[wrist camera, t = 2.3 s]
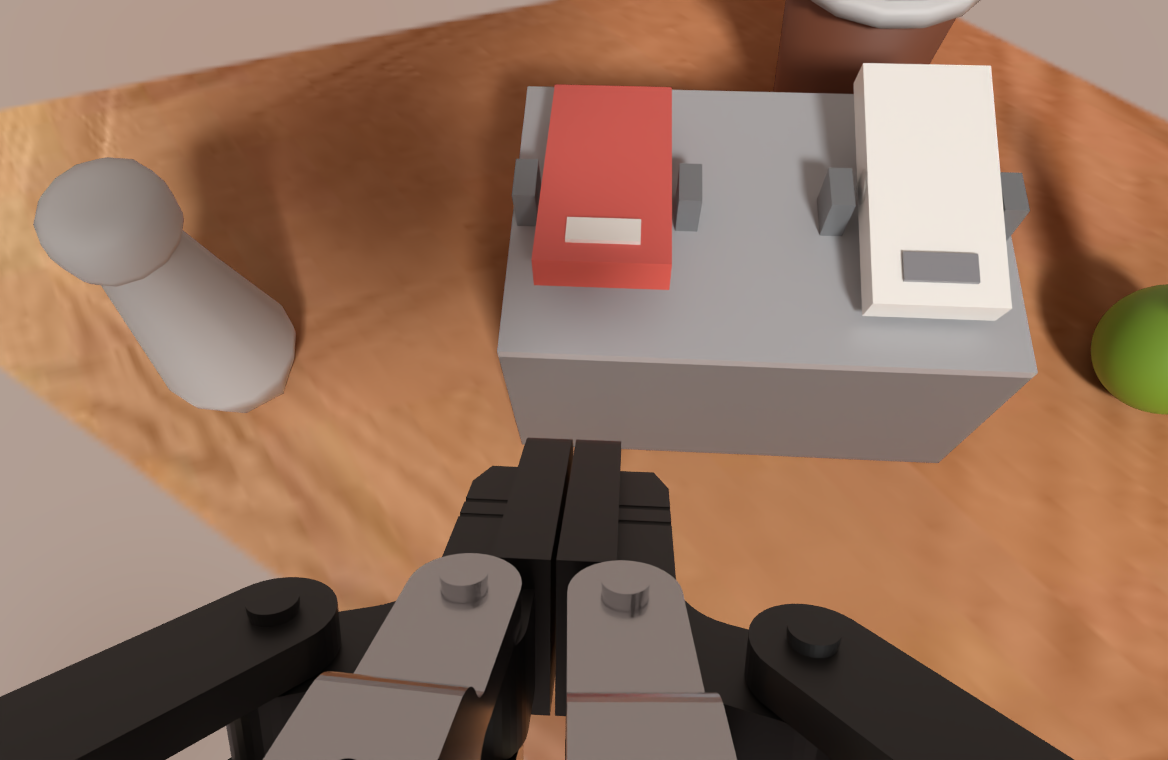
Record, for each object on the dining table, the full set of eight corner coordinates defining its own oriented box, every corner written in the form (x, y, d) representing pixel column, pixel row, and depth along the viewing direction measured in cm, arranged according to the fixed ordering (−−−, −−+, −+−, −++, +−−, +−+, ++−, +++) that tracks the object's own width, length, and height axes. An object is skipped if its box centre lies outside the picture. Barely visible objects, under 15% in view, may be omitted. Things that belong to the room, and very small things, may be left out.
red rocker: (669, 114, 32) (672, 83, 30) (669, 290, 26) (672, 261, 25) (555, 111, 32) (554, 81, 31) (533, 285, 27) (531, 256, 26)
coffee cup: (947, 94, 44) (1059, -125, 33) (869, 210, 41) (965, 10, 30) (796, 27, 46) (855, -198, 35) (713, 131, 43) (748, -80, 32)
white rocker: (976, 86, 30) (992, 63, 28) (995, 320, 27) (1014, 307, 26) (853, 83, 30) (864, 60, 29) (862, 316, 28) (874, 302, 26)
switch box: (907, 231, 40) (1003, 61, 30) (938, 463, 35) (1065, 347, 25) (543, 220, 41) (523, 51, 31) (522, 444, 36) (490, 326, 26)
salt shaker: (193, 322, 39) (15, 133, 27) (313, 310, 39) (187, 116, 27) (180, 436, 37) (-22, 282, 25) (308, 422, 37) (168, 262, 25)
